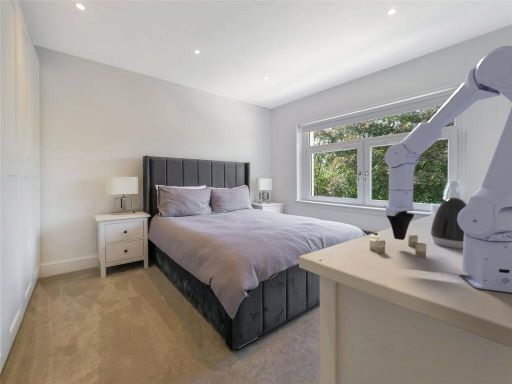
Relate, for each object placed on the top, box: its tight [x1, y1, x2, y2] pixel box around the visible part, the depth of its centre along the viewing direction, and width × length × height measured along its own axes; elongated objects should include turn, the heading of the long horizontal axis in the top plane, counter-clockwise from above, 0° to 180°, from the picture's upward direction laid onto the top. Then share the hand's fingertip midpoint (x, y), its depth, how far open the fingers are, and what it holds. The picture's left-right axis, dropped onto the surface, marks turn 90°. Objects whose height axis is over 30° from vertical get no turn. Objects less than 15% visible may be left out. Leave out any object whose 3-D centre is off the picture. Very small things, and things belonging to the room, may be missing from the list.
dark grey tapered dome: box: [430, 197, 467, 250], centre depth 68 cm, size 10×10×15 cm
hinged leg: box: [369, 232, 380, 251], centre depth 67 cm, size 9×2×3 cm, turn 150°
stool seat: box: [374, 234, 427, 259], centre depth 64 cm, size 14×13×4 cm
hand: (399, 239), depth 64 cm, fingers closed
